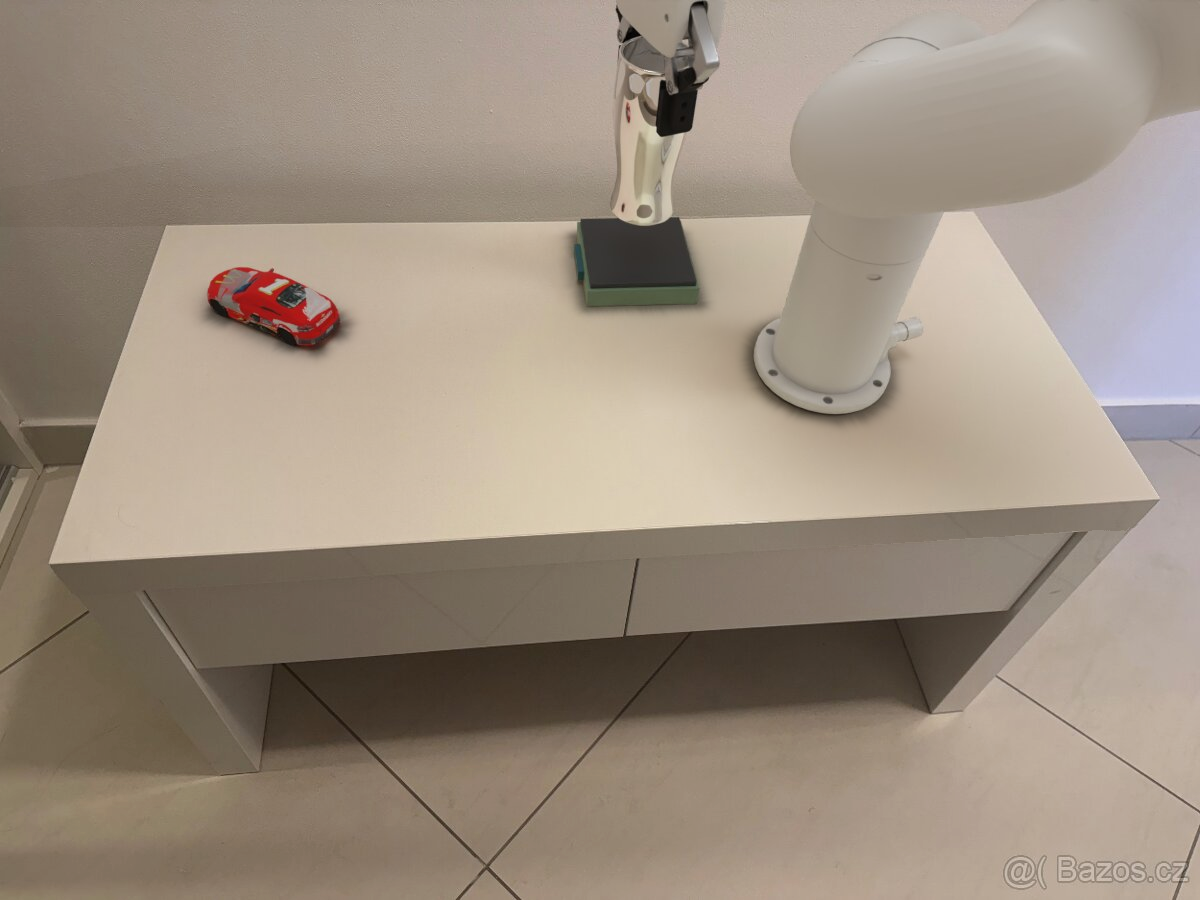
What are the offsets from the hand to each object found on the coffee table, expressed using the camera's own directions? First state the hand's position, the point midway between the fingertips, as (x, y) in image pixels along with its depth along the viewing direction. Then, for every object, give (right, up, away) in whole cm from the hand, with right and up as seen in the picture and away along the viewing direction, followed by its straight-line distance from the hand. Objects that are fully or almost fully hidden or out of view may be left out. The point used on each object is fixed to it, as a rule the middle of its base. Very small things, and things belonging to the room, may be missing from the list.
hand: (652, 108), depth 75 cm
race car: (-35, -17, +6) cm, 40 cm away
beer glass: (-1, -7, +8) cm, 10 cm away
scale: (-1, -11, +14) cm, 18 cm away
